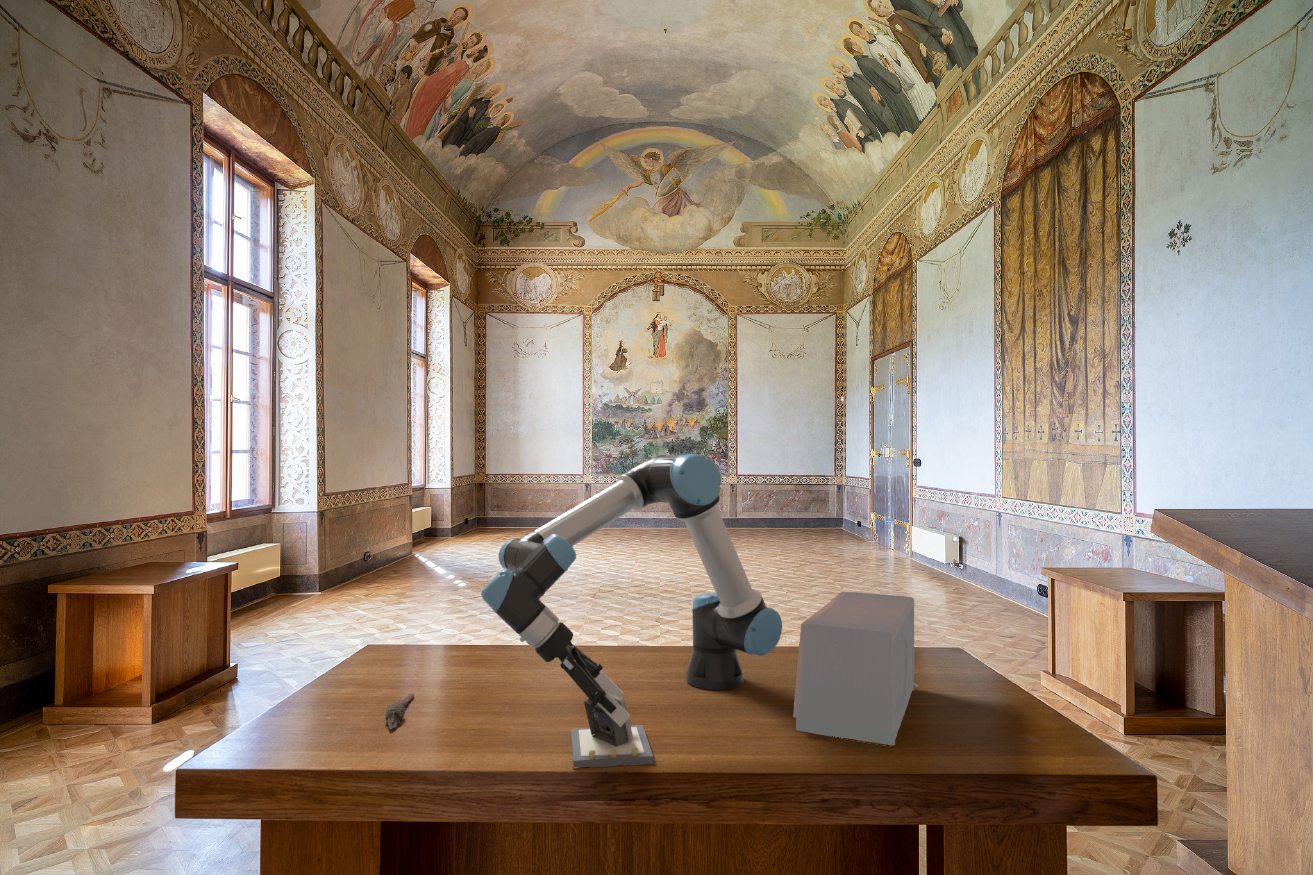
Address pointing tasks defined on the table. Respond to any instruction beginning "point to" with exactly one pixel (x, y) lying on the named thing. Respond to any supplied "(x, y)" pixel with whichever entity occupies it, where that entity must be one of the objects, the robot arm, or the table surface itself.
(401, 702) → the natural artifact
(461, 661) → the table surface
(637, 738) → the plate
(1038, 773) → the table surface
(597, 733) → the electrical switch
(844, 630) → the grey rounded box
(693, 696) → the table surface
